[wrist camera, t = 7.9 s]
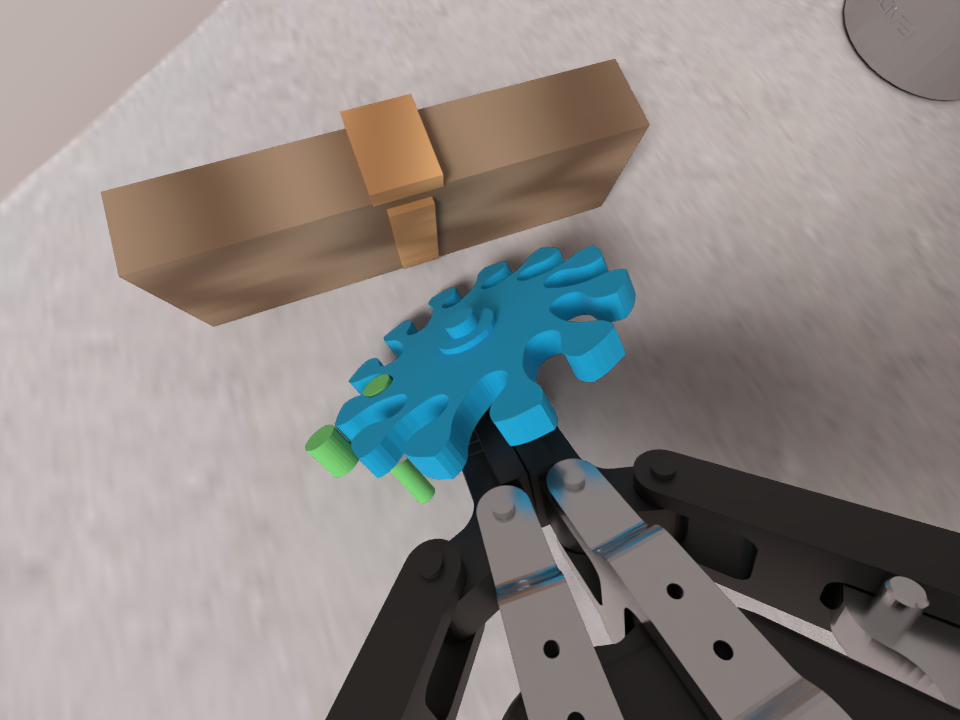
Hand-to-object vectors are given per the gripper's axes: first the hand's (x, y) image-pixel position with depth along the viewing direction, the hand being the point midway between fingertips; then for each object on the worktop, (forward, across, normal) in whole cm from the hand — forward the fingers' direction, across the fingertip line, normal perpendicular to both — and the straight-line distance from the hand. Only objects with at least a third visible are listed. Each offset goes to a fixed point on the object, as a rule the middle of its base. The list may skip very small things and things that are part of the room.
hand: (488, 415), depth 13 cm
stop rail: (+9, 0, -4) cm, 10 cm away
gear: (+4, 0, +1) cm, 4 cm away
